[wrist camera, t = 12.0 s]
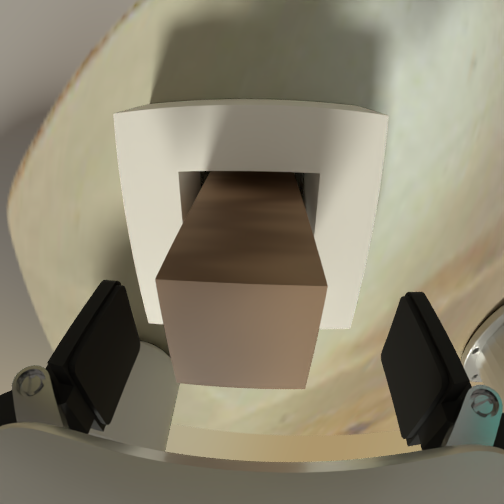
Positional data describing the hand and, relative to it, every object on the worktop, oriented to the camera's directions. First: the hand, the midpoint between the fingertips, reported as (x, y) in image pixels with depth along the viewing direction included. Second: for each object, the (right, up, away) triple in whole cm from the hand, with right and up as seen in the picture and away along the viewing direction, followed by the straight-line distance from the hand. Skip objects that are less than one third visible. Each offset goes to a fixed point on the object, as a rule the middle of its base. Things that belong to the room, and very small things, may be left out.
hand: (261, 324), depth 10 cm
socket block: (0, +6, +9) cm, 11 cm away
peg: (0, +6, +9) cm, 11 cm away
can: (-10, -8, +18) cm, 22 cm away
